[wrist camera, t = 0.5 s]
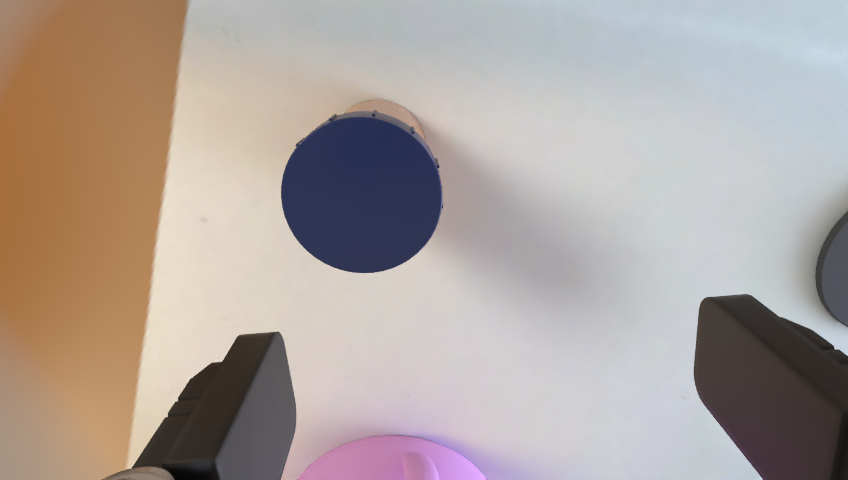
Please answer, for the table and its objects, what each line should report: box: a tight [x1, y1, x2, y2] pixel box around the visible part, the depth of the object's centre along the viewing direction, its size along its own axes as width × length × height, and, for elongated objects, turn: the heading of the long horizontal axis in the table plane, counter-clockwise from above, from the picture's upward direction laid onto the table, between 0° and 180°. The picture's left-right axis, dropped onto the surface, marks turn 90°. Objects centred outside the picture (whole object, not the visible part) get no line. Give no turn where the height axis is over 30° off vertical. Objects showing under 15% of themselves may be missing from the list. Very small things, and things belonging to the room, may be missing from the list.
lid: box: [281, 110, 443, 273], centre depth 21 cm, size 6×6×2 cm
